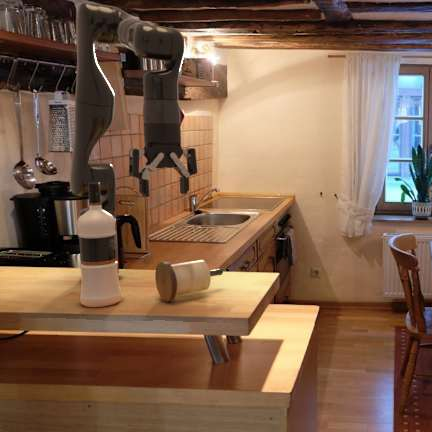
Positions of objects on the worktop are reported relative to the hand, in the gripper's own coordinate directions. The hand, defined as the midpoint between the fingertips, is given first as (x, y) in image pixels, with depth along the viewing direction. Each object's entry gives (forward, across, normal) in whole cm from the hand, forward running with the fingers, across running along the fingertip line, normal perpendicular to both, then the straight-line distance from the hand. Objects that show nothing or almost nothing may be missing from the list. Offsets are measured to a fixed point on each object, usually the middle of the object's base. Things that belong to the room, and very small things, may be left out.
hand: (165, 195), depth 125 cm
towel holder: (+29, -12, -13) cm, 34 cm away
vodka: (+29, +8, -22) cm, 37 cm away
